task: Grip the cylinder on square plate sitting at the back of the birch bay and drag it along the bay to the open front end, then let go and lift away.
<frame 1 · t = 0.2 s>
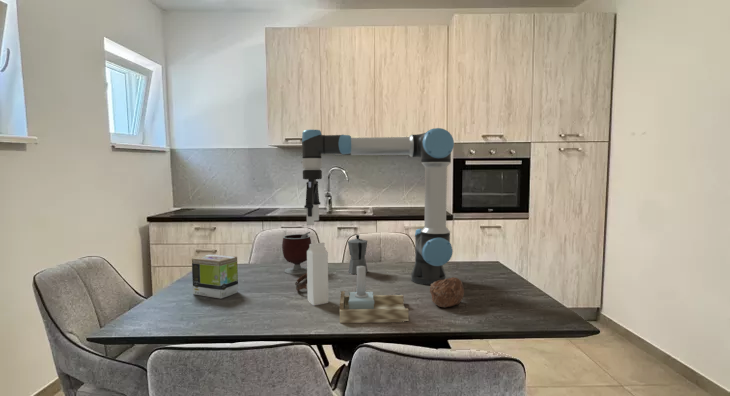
hand: (313, 222, 156), 28 cm above the table, tool pointing down, fingers open, 13 cm apart
pottery mug: (309, 291, 159), on the table
bay: (373, 313, 132), on the table
tea box: (215, 294, 156), on the table
coffeepot: (358, 273, 186), on the table
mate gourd: (298, 271, 190), on the table
decorative rock: (447, 305, 141), on the table
milk: (318, 302, 145), on the table
cylinder on square plate: (361, 288, 132), point 9 cm above the table, slide at 0.0 cm
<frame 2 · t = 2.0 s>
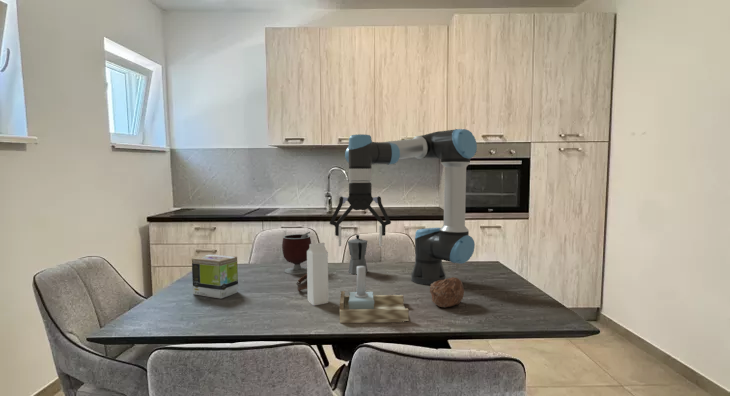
hand: (360, 245, 131), 23 cm above the table, tool pointing down, fingers open, 13 cm apart
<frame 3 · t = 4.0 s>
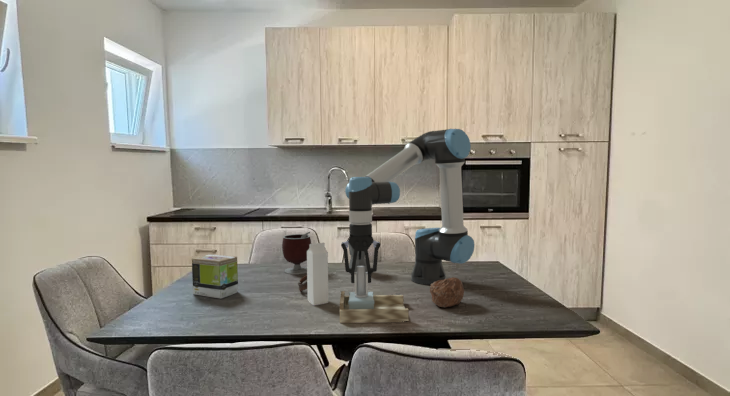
hand: (361, 292, 132), 8 cm above the table, tool pointing down, fingers closed on cylinder on square plate, 3 cm apart
cylinder on square plate: (361, 288, 132), point 9 cm above the table, slide at 0.0 cm, touching gripper
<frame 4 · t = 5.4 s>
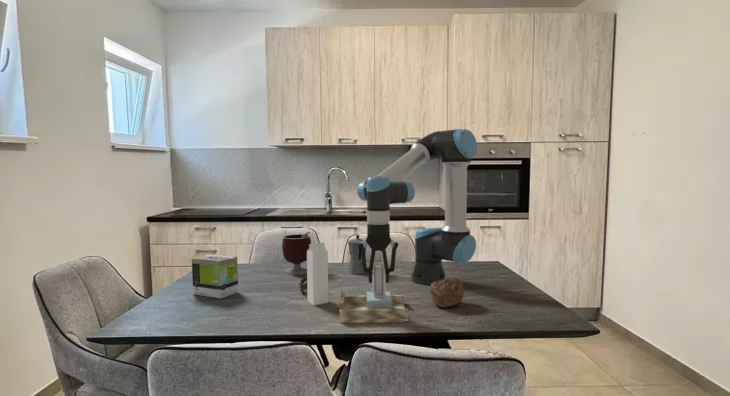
hand: (378, 291, 132), 8 cm above the table, tool pointing down, fingers closed on cylinder on square plate, 3 cm apart
cylinder on square plate: (378, 288, 132), point 9 cm above the table, slide at 5.9 cm, touching gripper
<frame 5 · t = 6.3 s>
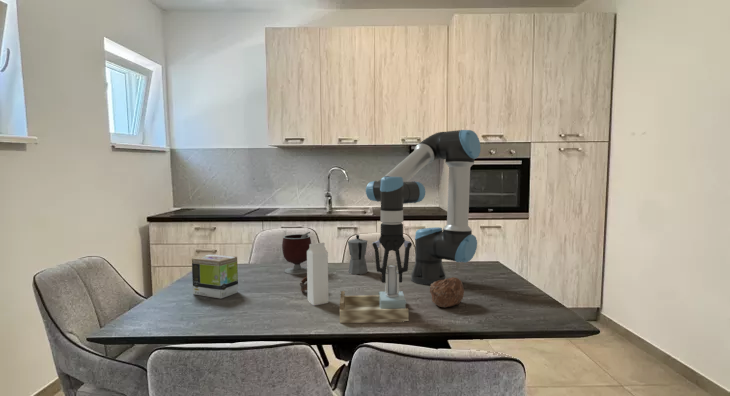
hand: (392, 291, 132), 8 cm above the table, tool pointing down, fingers closed on cylinder on square plate, 3 cm apart
cylinder on square plate: (392, 288, 132), point 9 cm above the table, slide at 10.4 cm, touching gripper
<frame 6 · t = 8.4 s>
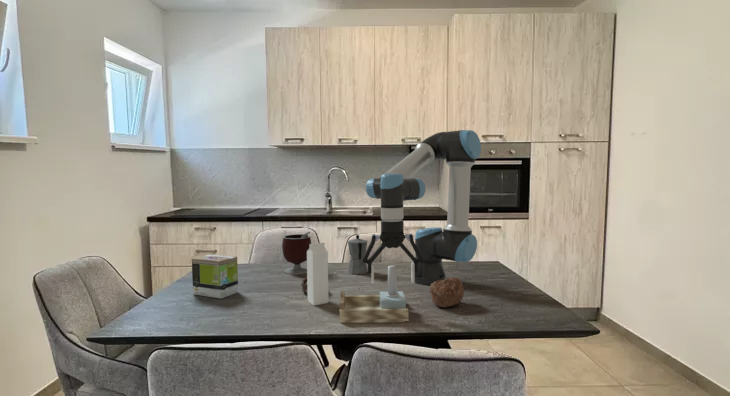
hand: (392, 282, 132), 11 cm above the table, tool pointing down, fingers open, 13 cm apart
cylinder on square plate: (392, 288, 132), point 9 cm above the table, slide at 10.5 cm
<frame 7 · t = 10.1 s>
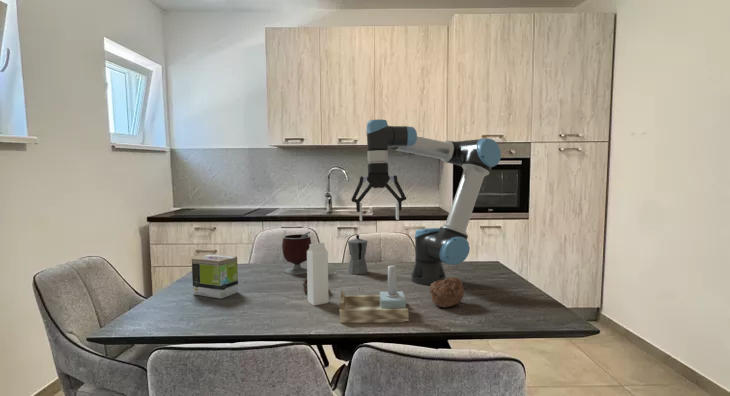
hand: (379, 220, 145), 30 cm above the table, tool pointing down, fingers open, 13 cm apart
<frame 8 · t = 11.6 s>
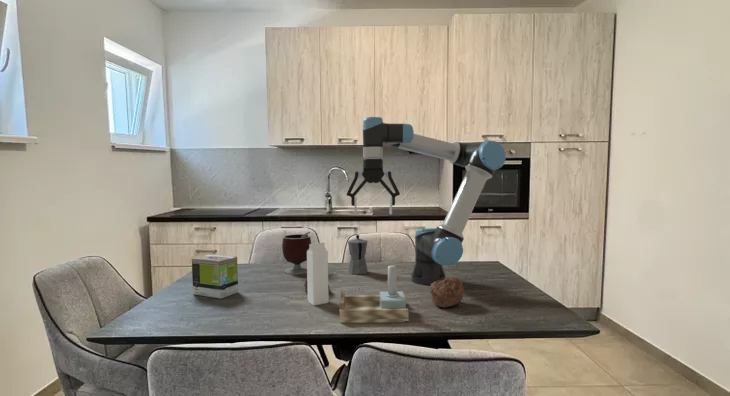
hand: (373, 214, 150), 32 cm above the table, tool pointing down, fingers open, 13 cm apart
at the end: cylinder on square plate slide at 10.5 cm; the gripper is holding nothing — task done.
